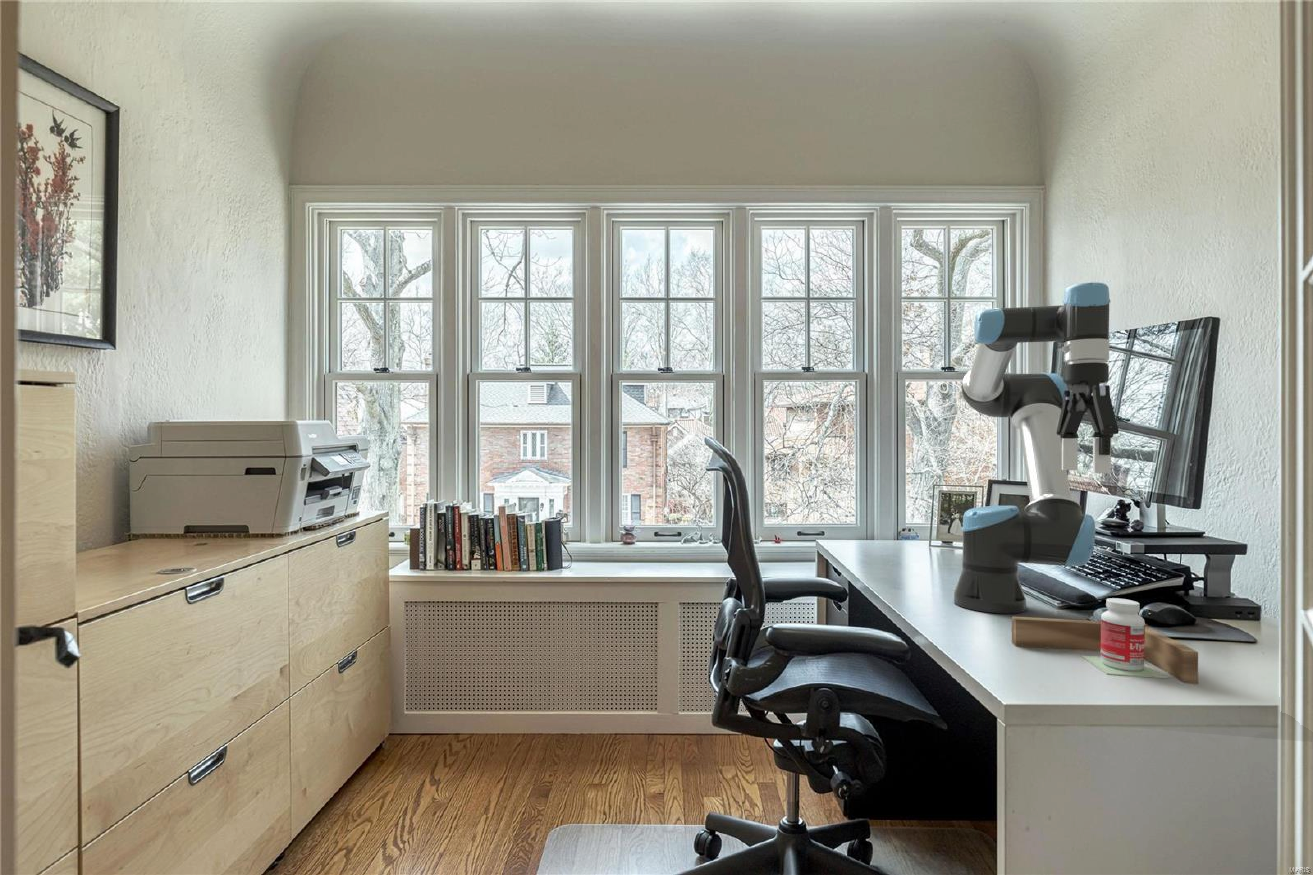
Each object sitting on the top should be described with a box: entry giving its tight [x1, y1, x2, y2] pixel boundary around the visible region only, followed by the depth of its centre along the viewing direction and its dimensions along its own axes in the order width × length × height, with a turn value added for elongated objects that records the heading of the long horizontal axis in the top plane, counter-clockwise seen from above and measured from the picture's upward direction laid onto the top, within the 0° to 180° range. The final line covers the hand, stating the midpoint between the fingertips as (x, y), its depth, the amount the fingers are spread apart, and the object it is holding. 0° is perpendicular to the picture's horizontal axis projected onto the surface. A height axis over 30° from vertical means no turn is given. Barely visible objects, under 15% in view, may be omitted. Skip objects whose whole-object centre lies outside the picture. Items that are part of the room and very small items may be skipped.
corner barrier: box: [1011, 616, 1199, 684], centre depth 116 cm, size 17×22×5 cm
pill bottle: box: [1100, 597, 1146, 671], centre depth 113 cm, size 6×6×11 cm
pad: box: [1081, 655, 1169, 679], centre depth 113 cm, size 9×9×1 cm
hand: (1084, 471), depth 130 cm, fingers open, 13 cm apart
